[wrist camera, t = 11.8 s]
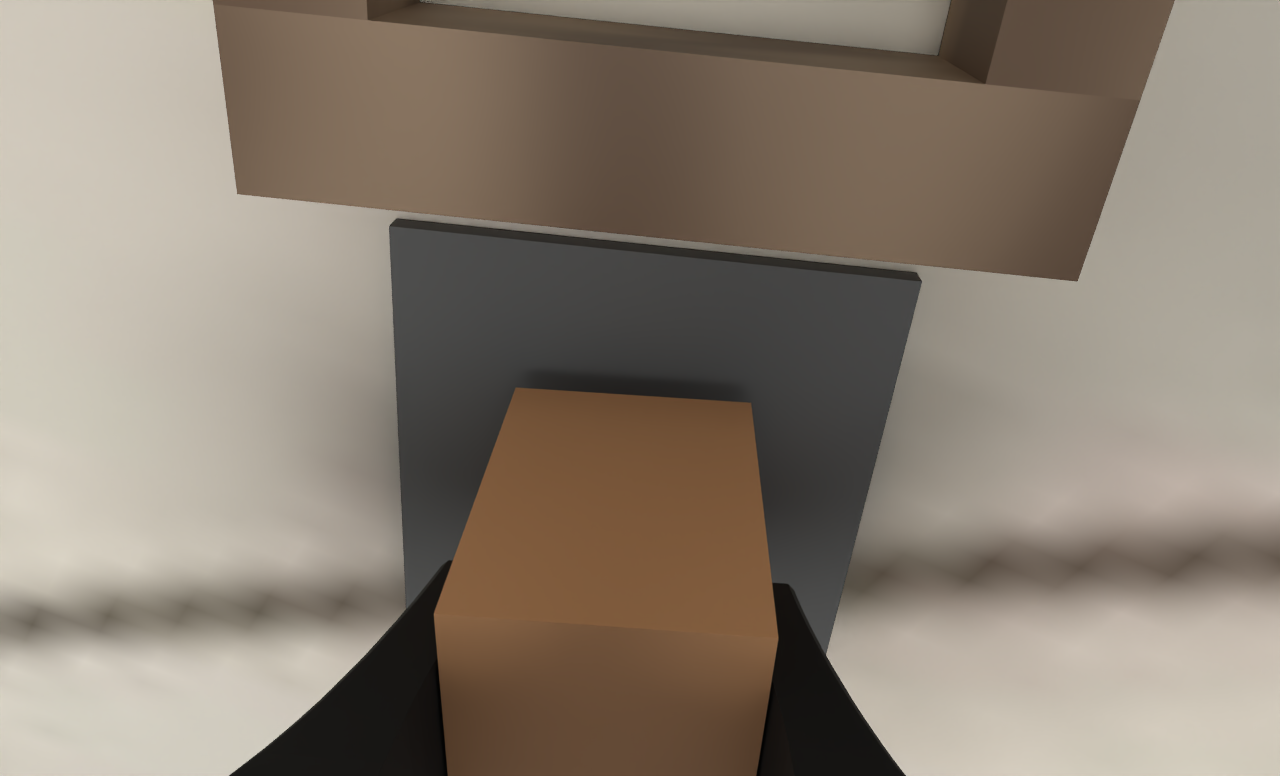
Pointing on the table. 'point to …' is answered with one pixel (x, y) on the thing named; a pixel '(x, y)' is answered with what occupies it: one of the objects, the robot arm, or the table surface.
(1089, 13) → the brown flat rectangular frame
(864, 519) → the table surface
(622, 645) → the terracotta block
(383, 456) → the table surface
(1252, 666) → the table surface
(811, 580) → the rubber mat
